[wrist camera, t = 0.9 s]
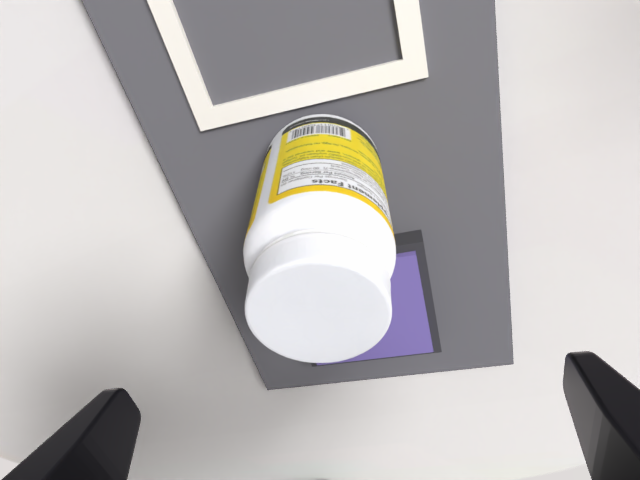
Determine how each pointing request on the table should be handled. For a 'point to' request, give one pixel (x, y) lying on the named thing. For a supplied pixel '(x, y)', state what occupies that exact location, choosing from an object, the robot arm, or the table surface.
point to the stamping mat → (358, 107)
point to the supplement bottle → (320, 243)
